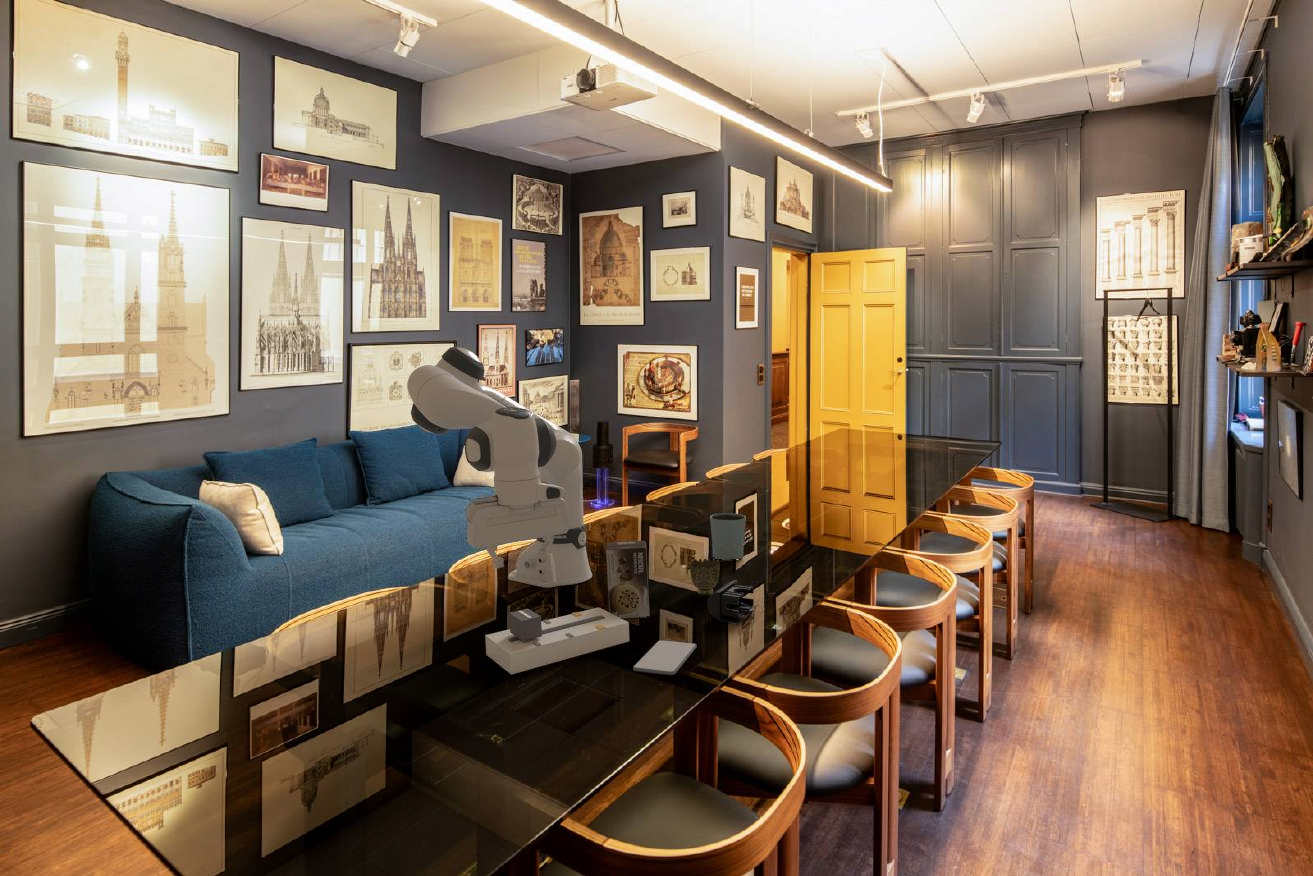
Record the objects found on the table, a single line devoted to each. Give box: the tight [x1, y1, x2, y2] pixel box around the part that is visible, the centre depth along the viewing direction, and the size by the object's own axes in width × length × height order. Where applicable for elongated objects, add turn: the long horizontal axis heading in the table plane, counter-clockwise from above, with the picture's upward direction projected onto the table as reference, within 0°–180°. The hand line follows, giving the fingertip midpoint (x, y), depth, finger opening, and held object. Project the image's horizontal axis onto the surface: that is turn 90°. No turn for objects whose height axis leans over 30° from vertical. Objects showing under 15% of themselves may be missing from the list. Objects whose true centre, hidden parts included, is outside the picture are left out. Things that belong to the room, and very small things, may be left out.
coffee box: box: [605, 540, 650, 619], centre depth 171 cm, size 9×6×16 cm
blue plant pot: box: [709, 512, 747, 560], centre depth 216 cm, size 10×10×12 cm
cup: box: [689, 558, 721, 596], centre depth 184 cm, size 8×7×8 cm
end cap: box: [707, 579, 755, 624], centre depth 169 cm, size 10×7×7 cm
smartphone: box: [632, 640, 698, 676], centre depth 147 cm, size 8×1×15 cm
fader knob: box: [508, 608, 542, 641], centre depth 149 cm, size 4×6×4 cm, turn 34°
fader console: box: [484, 607, 630, 675], centre depth 153 cm, size 26×12×4 cm, turn 124°
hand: (521, 562), depth 147 cm, fingers open, 8 cm apart
